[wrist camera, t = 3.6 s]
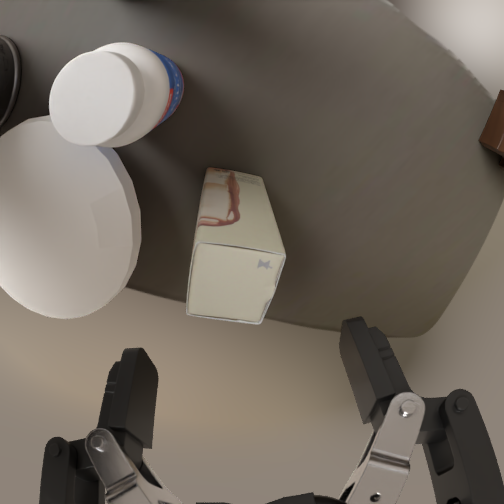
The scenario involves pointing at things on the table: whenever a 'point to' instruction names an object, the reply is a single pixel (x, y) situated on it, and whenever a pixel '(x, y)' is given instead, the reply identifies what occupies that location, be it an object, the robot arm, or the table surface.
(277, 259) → the cream cosmetic box
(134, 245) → the white domed disc
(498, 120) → the miniature wooden chair
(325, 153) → the table surface
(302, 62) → the table surface
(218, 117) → the table surface
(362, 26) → the table surface
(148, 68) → the pill bottle
